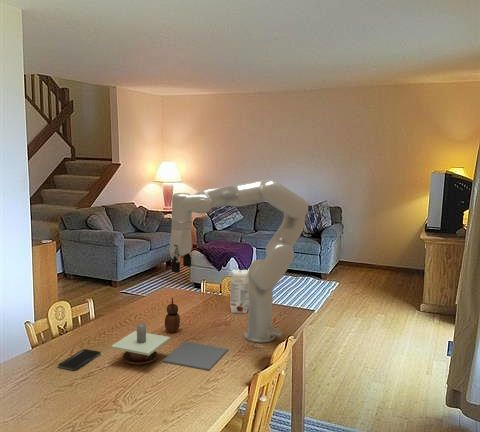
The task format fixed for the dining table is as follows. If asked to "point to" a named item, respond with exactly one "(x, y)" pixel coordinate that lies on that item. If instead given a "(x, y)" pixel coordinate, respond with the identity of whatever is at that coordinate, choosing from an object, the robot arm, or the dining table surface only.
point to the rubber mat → (195, 355)
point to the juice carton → (239, 291)
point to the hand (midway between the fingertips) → (181, 269)
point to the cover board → (141, 346)
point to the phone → (79, 360)
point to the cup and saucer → (139, 358)
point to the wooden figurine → (172, 318)
